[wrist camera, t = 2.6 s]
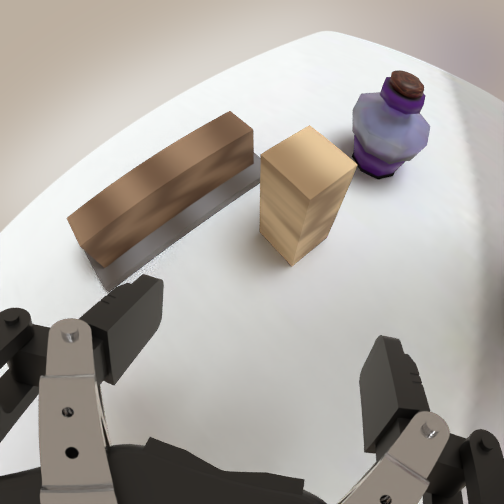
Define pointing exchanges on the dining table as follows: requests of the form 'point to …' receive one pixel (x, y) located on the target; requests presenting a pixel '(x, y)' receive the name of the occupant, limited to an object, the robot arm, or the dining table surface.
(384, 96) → the potion bottle
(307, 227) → the wooden block
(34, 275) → the dining table surface
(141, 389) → the dining table surface
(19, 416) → the robot arm
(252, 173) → the chalkboard eraser
